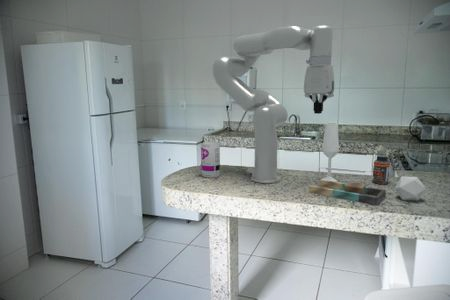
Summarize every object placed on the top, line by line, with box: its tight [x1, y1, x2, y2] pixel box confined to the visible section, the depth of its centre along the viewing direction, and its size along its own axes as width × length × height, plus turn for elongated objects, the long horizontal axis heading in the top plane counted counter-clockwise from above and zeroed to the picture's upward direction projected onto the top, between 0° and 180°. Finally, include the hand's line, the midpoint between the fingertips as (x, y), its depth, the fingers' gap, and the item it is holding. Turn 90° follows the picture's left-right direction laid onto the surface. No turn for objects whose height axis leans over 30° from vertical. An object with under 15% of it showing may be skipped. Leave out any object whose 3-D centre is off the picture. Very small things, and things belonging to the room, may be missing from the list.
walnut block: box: [343, 181, 367, 195], centre depth 118 cm, size 6×6×4 cm
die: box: [394, 176, 427, 202], centre depth 113 cm, size 8×9×10 cm
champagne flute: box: [321, 122, 340, 182], centre depth 136 cm, size 7×7×24 cm
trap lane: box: [308, 178, 387, 206], centre depth 119 cm, size 24×11×2 cm, turn 52°
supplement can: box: [200, 141, 221, 179], centre depth 146 cm, size 8×8×15 cm
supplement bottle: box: [371, 154, 391, 185], centre depth 133 cm, size 6×6×11 cm
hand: (318, 113), depth 122 cm, fingers closed
